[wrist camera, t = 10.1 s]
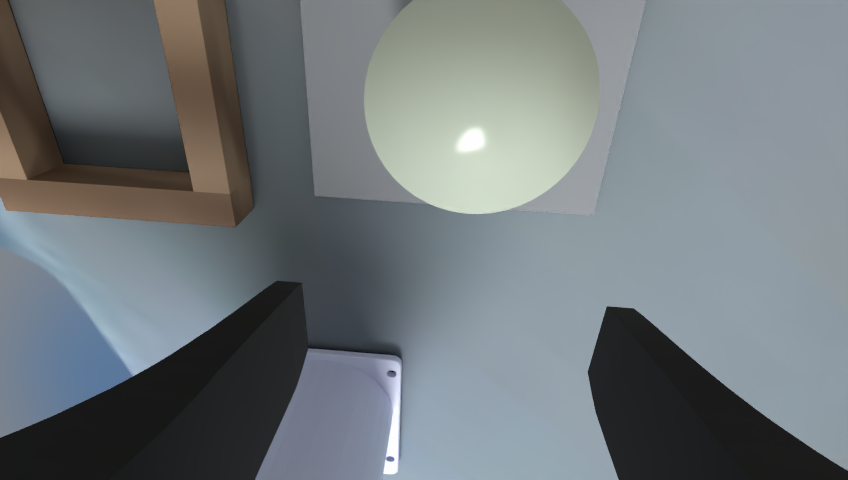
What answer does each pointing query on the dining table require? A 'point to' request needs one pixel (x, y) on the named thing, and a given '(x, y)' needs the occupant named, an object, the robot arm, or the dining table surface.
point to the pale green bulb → (481, 100)
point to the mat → (345, 83)
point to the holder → (126, 187)
